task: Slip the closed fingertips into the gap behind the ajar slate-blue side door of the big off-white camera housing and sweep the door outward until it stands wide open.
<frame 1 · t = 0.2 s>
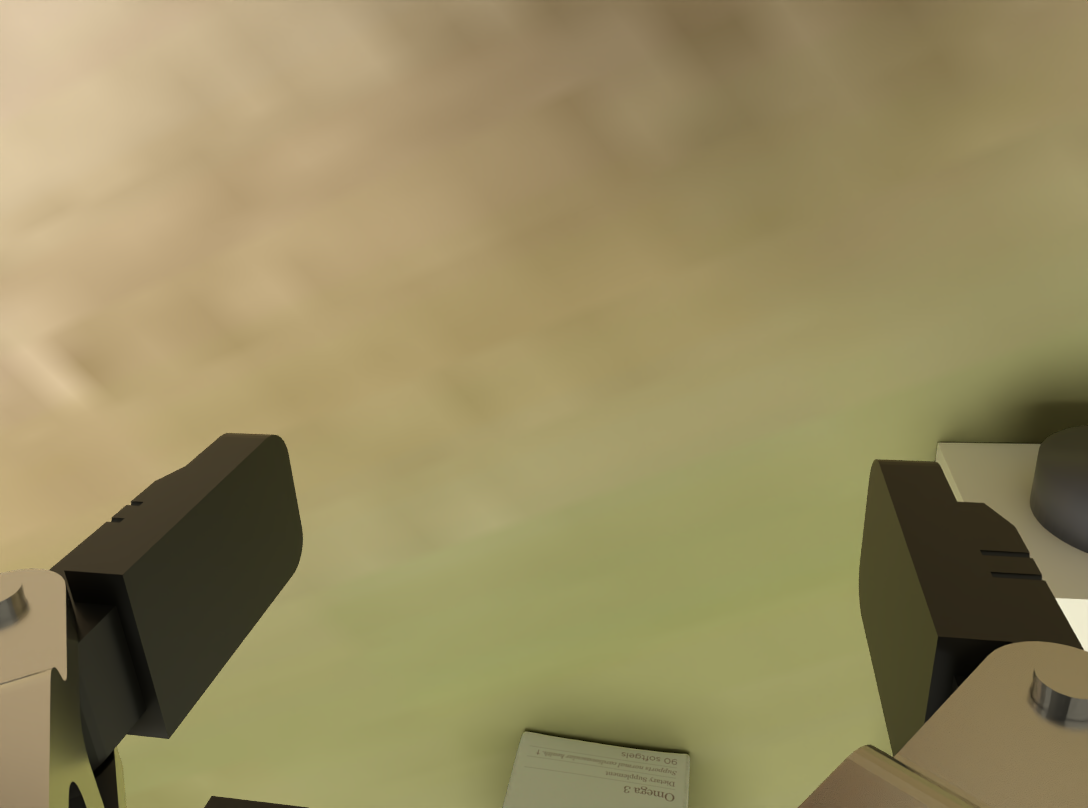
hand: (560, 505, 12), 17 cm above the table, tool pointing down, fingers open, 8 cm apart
camera housing: (1045, 685, 33), on the table
supplement box: (603, 793, 40), on the table
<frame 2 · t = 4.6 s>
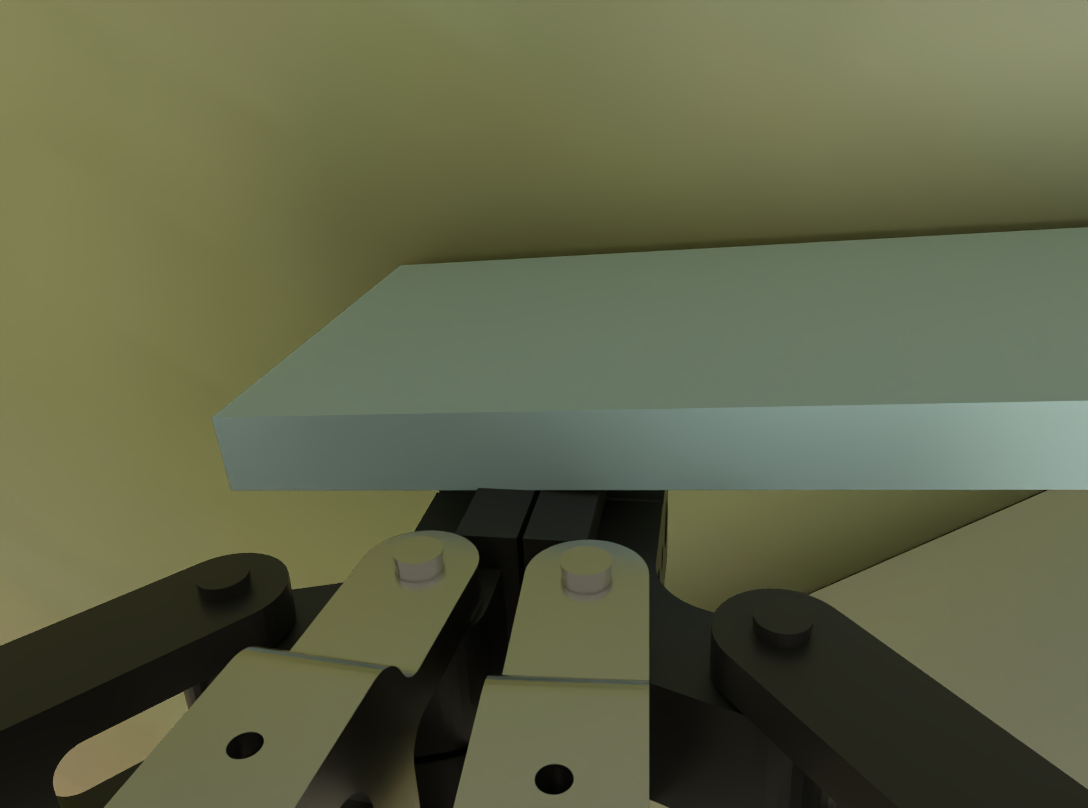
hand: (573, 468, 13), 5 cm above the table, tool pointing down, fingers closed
camera housing: (1043, 700, 19), on the table
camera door: (990, 331, 12), point 4 cm above the table, hinge at 30.0°, touching gripper
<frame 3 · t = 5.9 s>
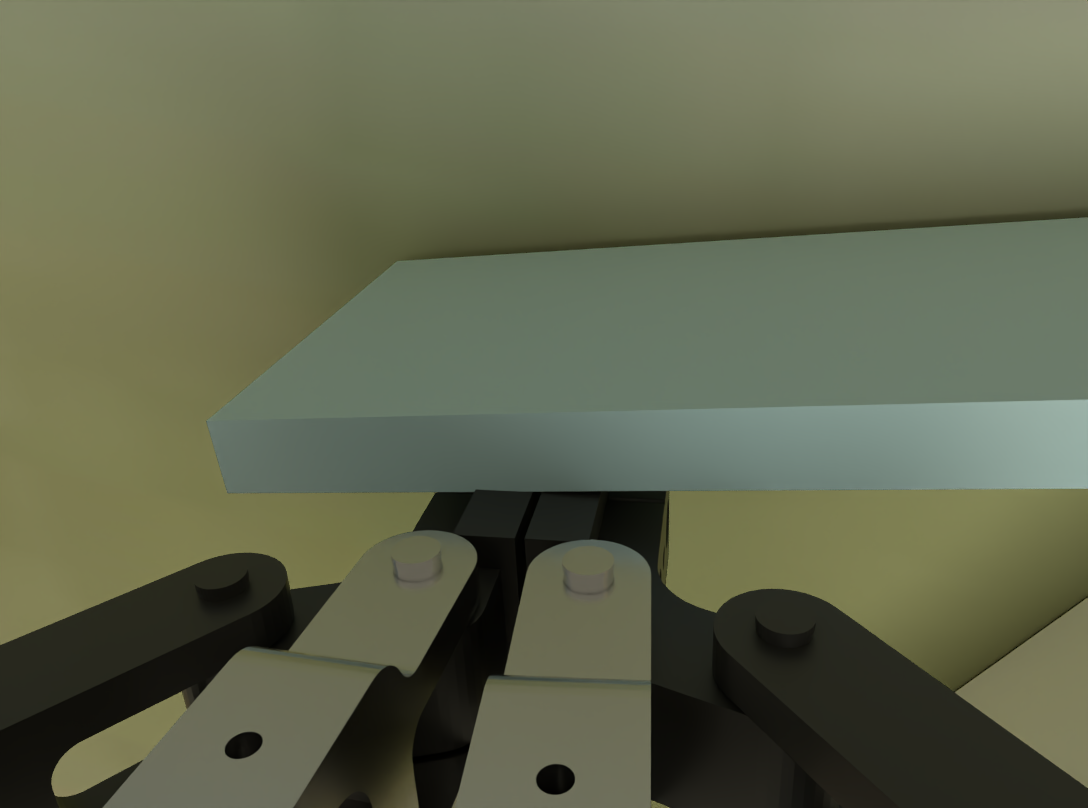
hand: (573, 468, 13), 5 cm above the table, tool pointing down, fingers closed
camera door: (989, 326, 12), point 4 cm above the table, hinge at 48.2°, touching gripper
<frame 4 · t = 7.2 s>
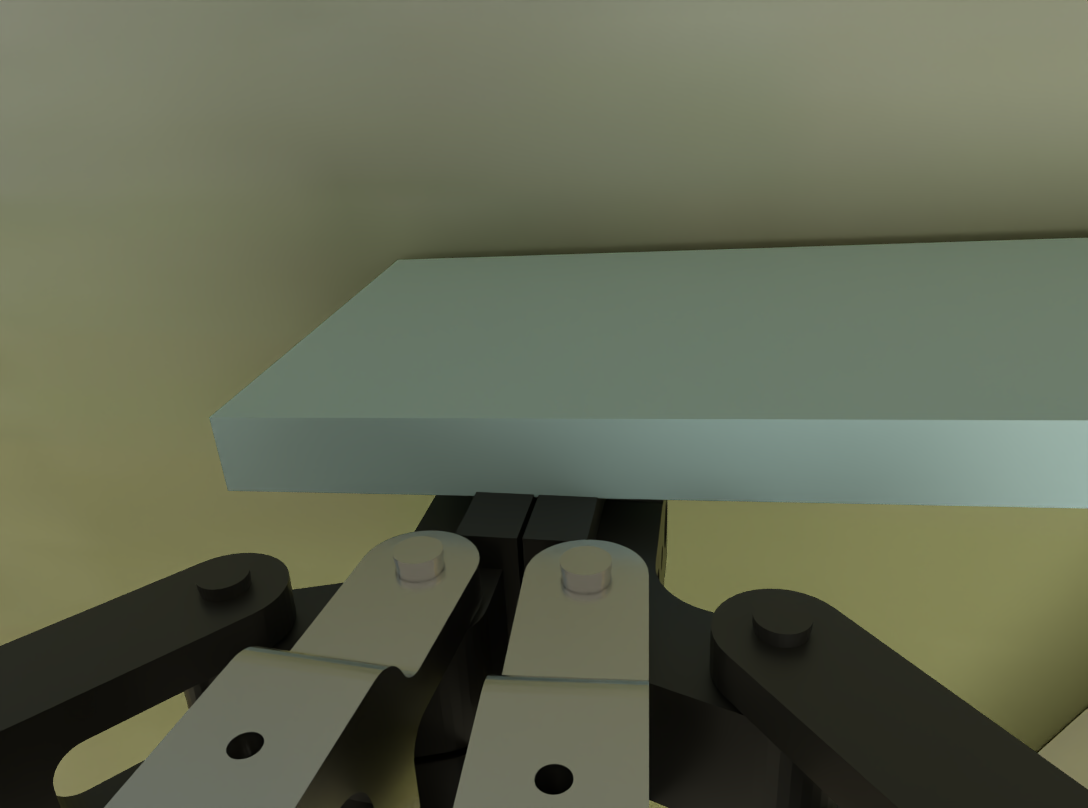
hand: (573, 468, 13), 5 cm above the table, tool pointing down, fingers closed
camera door: (992, 343, 12), point 4 cm above the table, hinge at 59.3°, touching gripper
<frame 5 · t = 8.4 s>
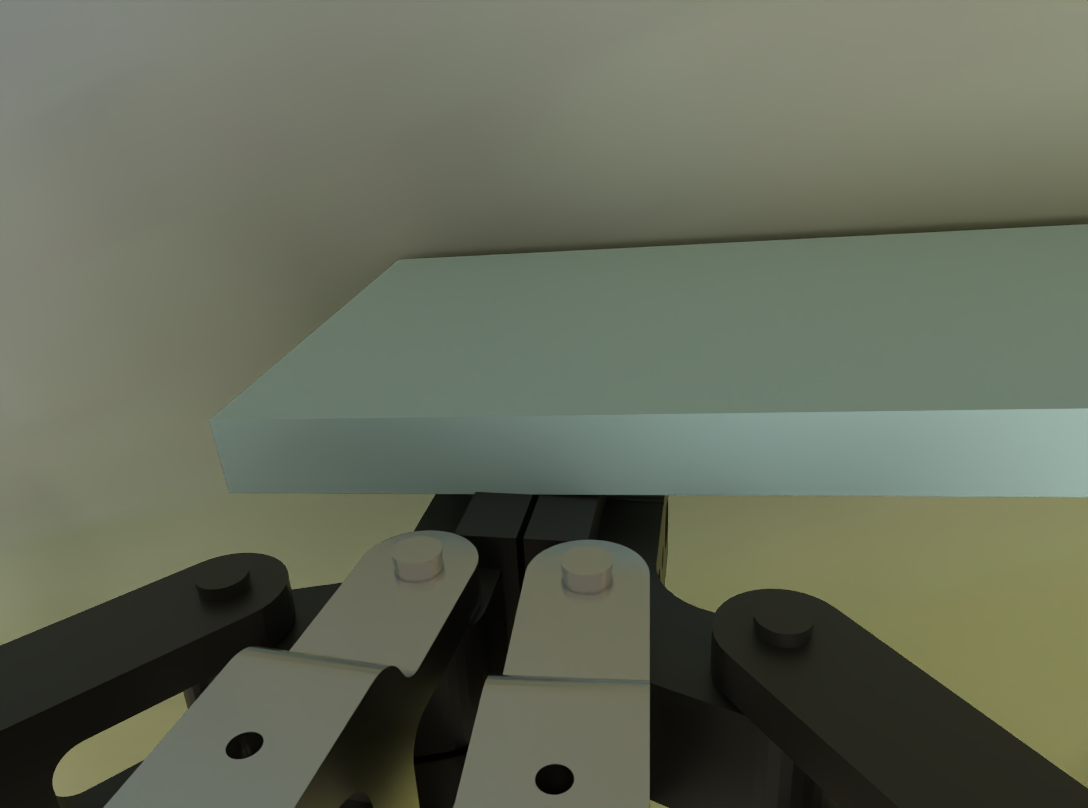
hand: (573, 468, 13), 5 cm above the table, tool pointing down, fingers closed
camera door: (994, 332, 12), point 4 cm above the table, hinge at 75.2°, touching gripper
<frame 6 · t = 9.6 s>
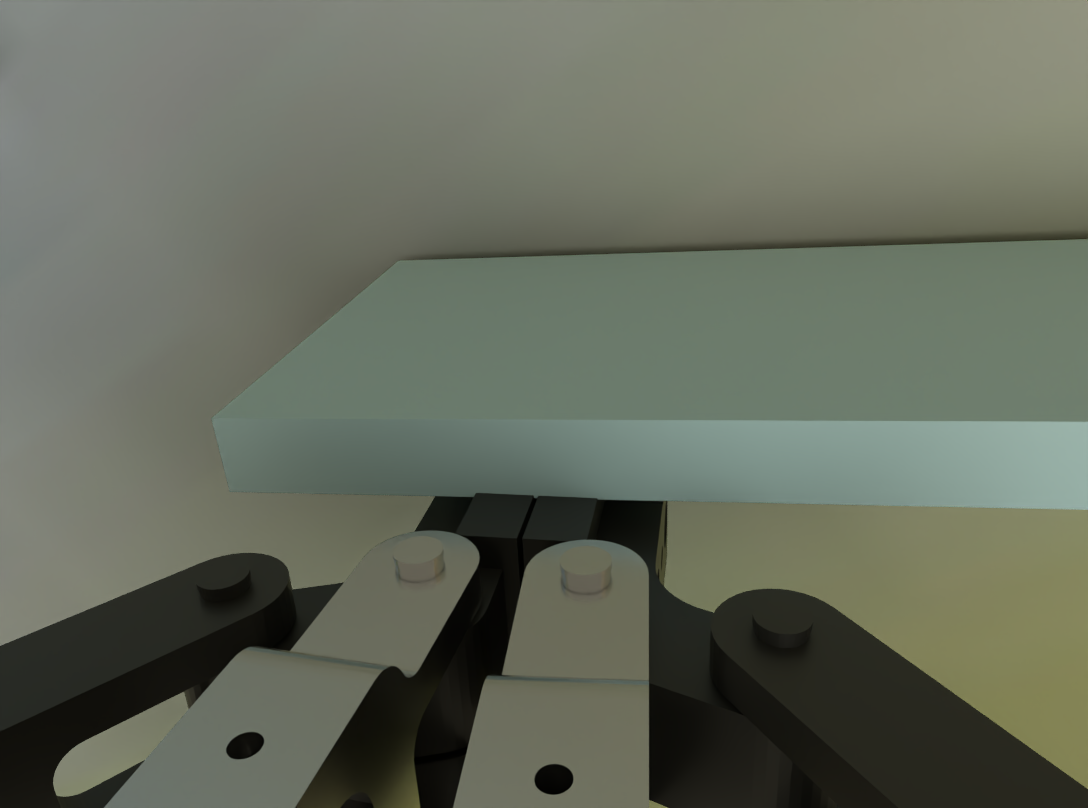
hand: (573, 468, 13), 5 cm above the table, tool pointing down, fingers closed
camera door: (995, 344, 12), point 4 cm above the table, hinge at 88.4°, touching gripper
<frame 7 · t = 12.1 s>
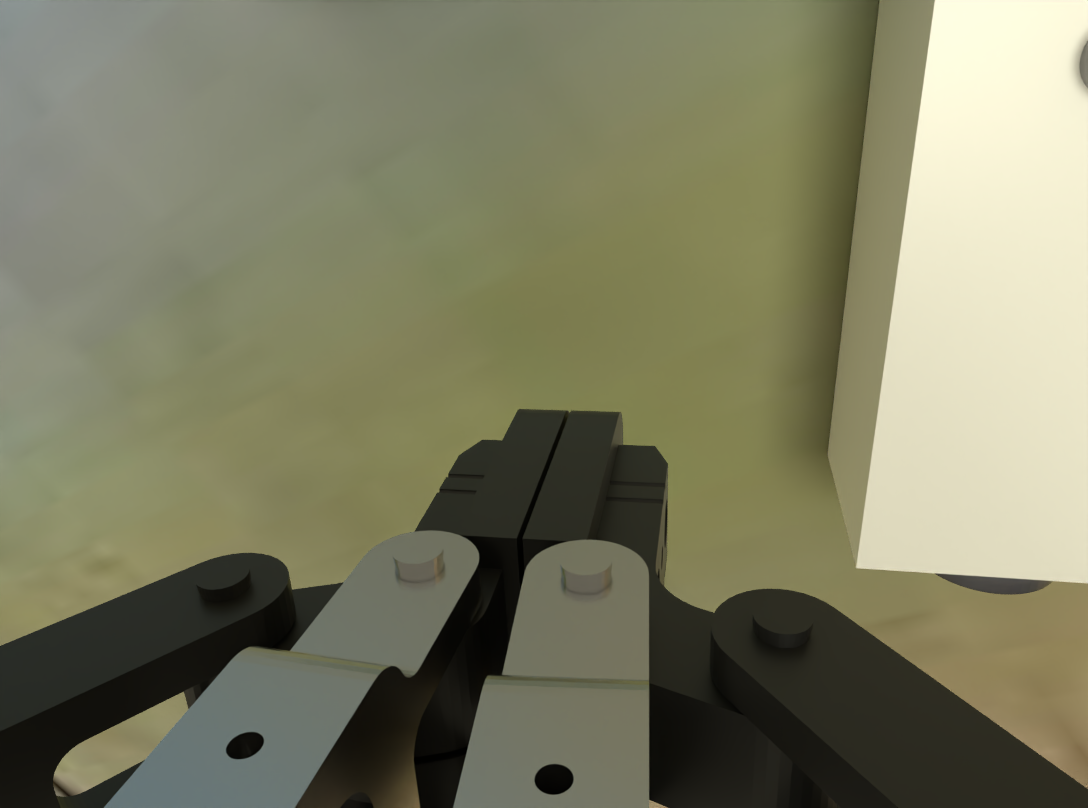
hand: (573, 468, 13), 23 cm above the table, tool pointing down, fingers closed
camera housing: (990, 217, 32), on the table
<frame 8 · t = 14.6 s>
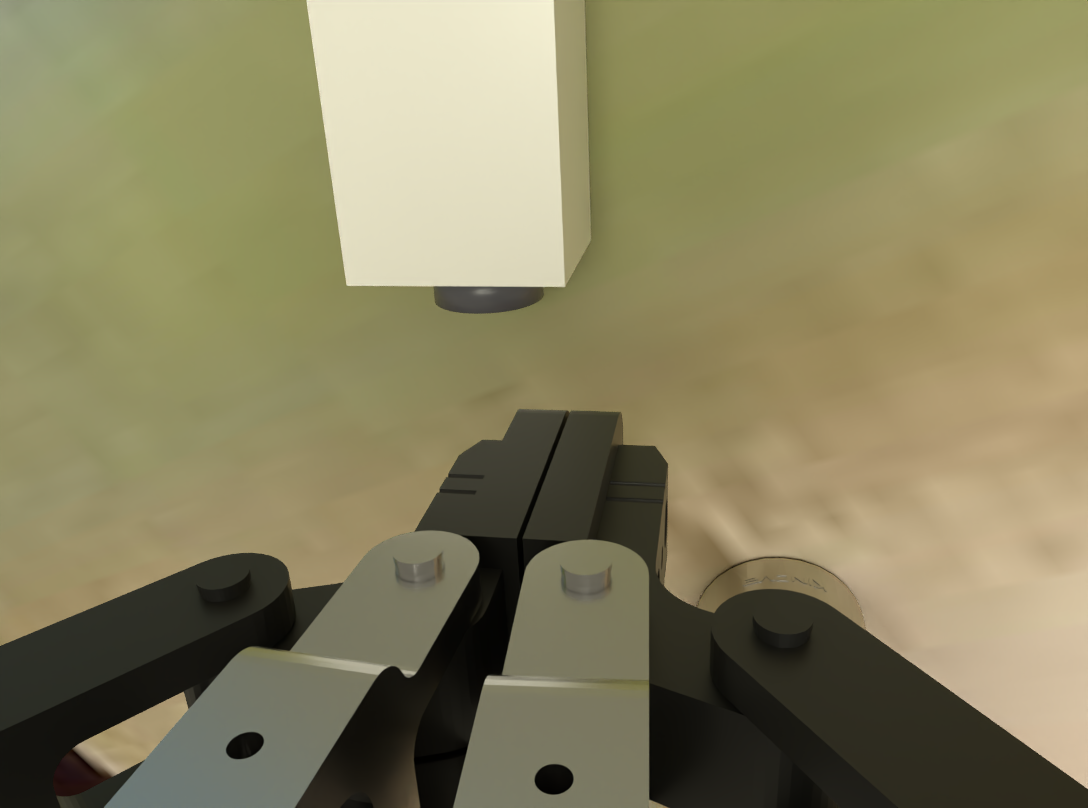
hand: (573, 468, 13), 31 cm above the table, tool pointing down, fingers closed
camera housing: (481, 21, 40), on the table
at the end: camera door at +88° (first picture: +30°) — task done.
